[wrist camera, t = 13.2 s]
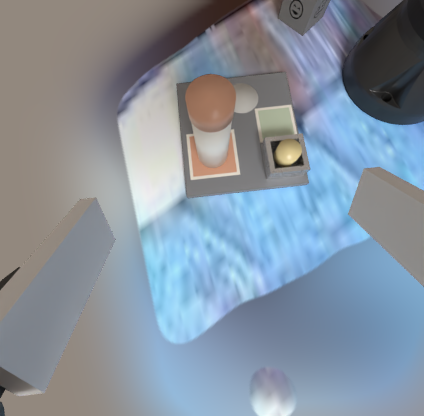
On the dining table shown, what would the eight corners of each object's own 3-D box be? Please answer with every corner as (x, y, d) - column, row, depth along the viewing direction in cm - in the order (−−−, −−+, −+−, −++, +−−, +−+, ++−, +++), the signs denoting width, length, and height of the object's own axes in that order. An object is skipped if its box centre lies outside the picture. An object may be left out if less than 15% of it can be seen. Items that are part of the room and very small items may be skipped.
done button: (293, 145, 27) (299, 137, 25) (297, 165, 26) (303, 159, 24) (271, 147, 27) (276, 139, 25) (275, 168, 26) (280, 161, 24)
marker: (226, 137, 28) (232, 71, 18) (230, 166, 28) (239, 116, 17) (195, 141, 28) (183, 77, 18) (198, 170, 28) (187, 122, 17)
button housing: (295, 142, 28) (302, 133, 26) (302, 175, 27) (310, 169, 25) (260, 146, 28) (264, 137, 26) (266, 179, 27) (270, 173, 25)
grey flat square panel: (283, 76, 31) (285, 71, 30) (306, 184, 28) (309, 182, 27) (177, 87, 31) (176, 83, 30) (187, 198, 28) (186, 196, 27)
